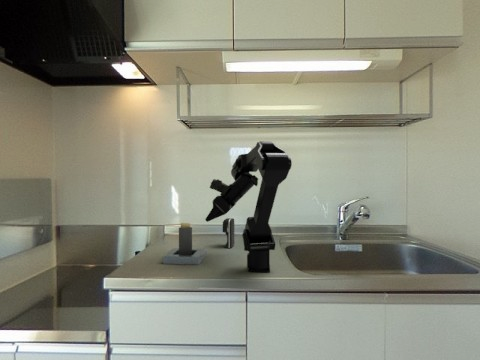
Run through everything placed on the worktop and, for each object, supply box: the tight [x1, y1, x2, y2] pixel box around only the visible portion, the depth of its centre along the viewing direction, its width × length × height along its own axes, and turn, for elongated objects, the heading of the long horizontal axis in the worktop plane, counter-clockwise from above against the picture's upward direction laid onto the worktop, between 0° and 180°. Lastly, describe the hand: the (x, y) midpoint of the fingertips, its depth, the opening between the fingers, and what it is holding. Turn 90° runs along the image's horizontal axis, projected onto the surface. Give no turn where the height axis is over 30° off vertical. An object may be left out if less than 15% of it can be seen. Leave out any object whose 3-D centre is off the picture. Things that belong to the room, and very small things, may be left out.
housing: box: [162, 247, 207, 266], centre depth 118 cm, size 12×12×2 cm
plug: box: [178, 222, 193, 255], centre depth 118 cm, size 4×4×12 cm
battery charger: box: [222, 217, 235, 249], centre depth 139 cm, size 7×4×11 cm, turn 170°
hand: (208, 218), depth 121 cm, fingers open, 9 cm apart
